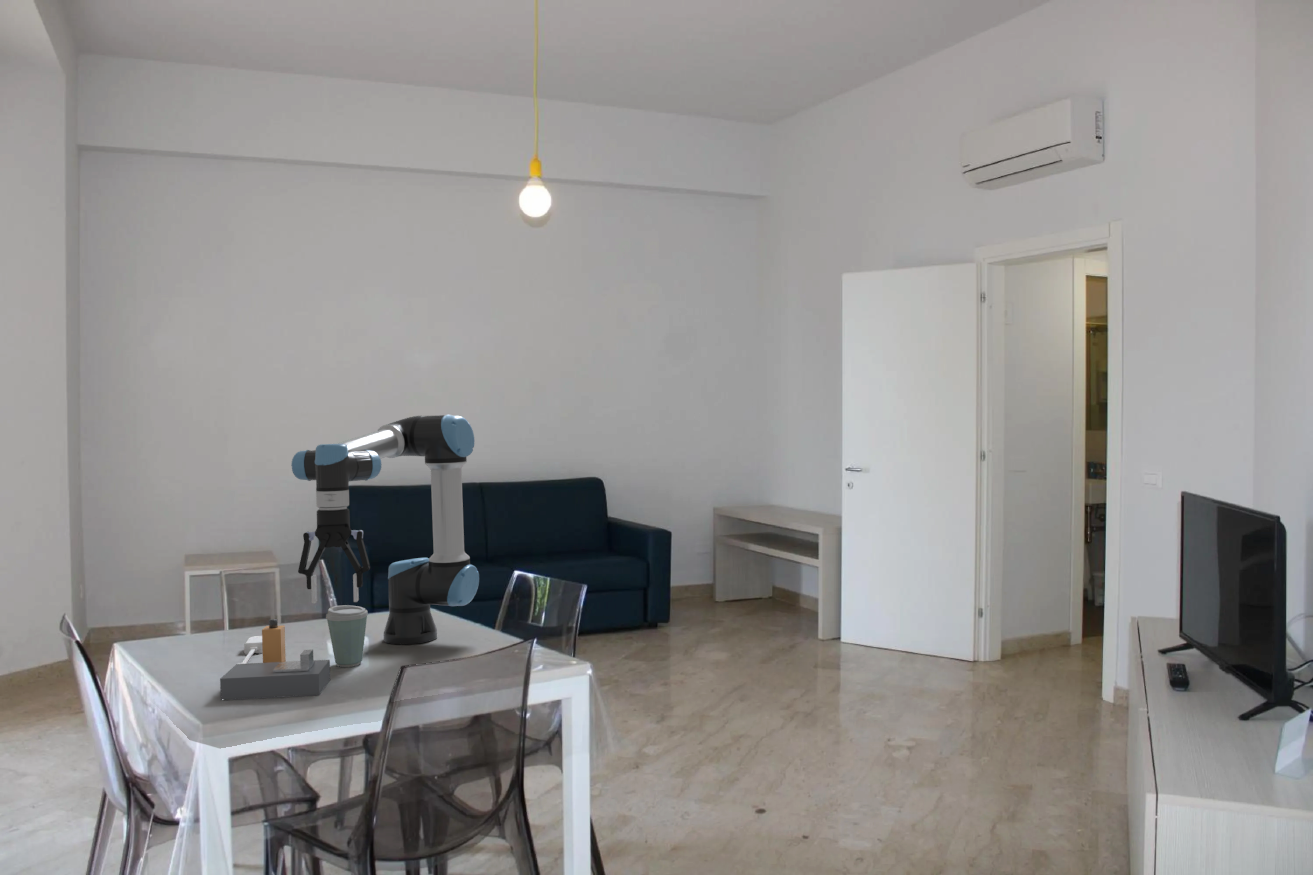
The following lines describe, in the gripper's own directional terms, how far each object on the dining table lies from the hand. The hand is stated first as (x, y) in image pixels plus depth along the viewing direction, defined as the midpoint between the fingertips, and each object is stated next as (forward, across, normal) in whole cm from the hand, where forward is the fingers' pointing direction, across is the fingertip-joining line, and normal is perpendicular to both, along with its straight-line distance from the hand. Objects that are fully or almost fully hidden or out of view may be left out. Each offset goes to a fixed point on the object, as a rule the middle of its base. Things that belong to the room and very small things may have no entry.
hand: (335, 601), depth 248 cm
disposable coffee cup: (+21, -1, +22) cm, 30 cm away
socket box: (+20, -14, 0) cm, 25 cm away
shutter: (+15, -10, 0) cm, 18 cm away
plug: (+21, -18, +15) cm, 31 cm away
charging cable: (+21, -29, +36) cm, 50 cm away
